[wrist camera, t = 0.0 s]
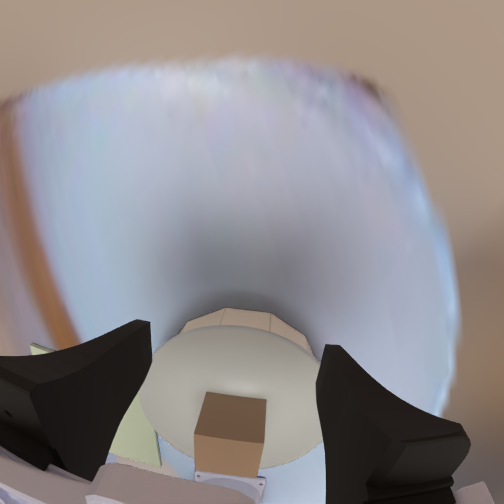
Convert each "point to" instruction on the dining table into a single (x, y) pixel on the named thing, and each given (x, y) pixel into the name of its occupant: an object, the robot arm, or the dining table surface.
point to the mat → (129, 431)
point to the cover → (233, 398)
